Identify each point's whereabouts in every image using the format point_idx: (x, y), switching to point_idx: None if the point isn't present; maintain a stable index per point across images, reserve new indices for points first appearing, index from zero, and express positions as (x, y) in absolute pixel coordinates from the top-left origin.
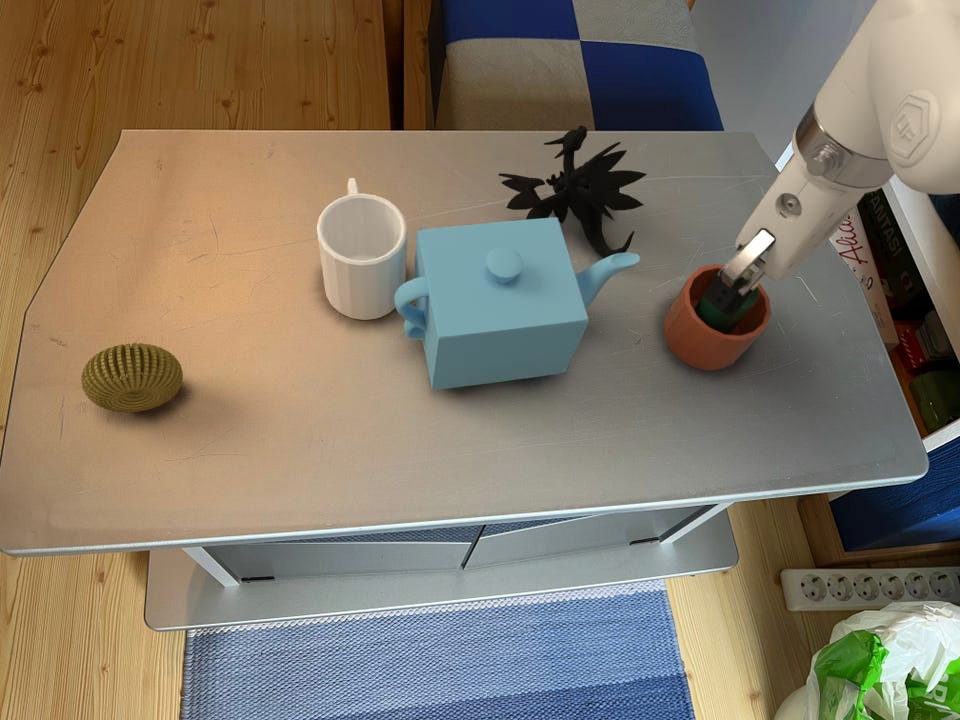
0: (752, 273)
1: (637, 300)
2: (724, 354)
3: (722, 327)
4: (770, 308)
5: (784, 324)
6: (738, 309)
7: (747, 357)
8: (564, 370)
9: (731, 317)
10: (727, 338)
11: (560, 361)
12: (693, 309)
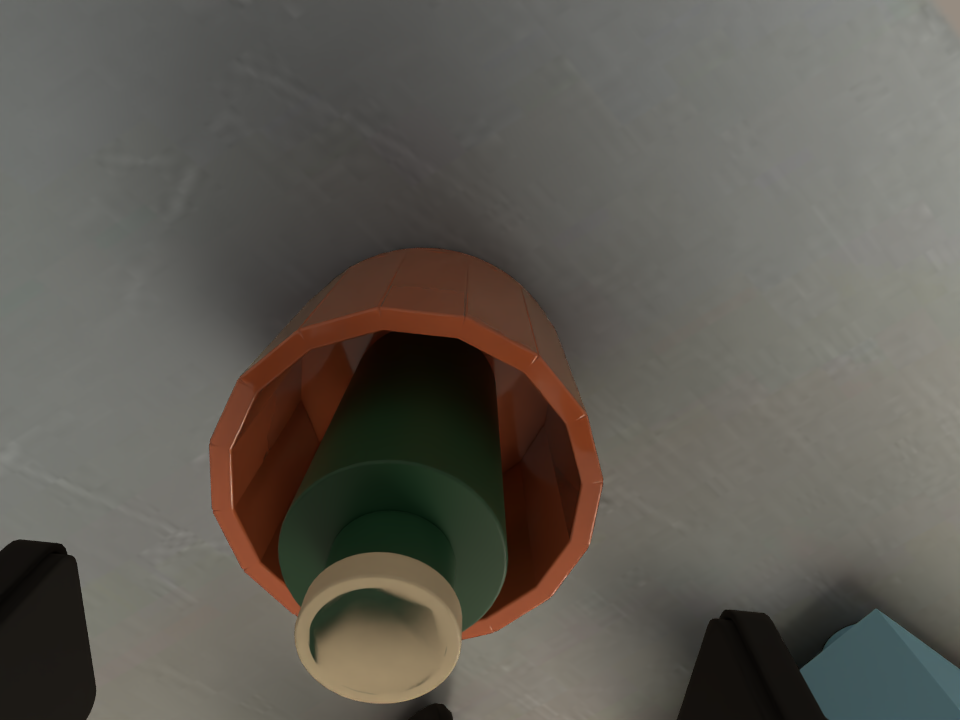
0: (325, 629)
1: None
2: (540, 327)
3: (486, 418)
4: (280, 345)
5: (157, 191)
6: (803, 694)
7: (386, 222)
8: (889, 622)
9: (765, 618)
10: (576, 404)
11: (950, 688)
12: (551, 567)
